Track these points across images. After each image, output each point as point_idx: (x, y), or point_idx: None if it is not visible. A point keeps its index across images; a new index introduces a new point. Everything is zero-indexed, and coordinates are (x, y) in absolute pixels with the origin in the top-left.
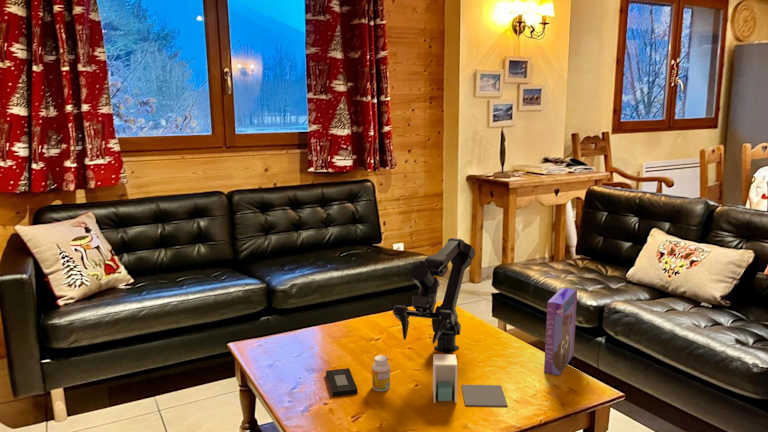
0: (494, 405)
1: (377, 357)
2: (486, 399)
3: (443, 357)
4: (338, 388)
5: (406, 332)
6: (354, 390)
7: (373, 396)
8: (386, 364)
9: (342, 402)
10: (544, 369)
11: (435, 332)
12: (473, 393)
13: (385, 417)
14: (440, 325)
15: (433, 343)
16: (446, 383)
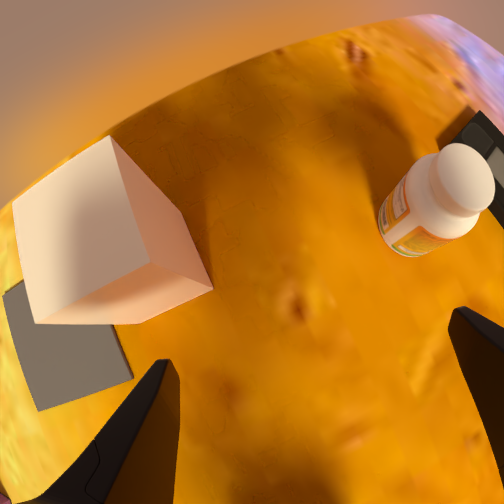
0: (23, 281)
1: (482, 172)
2: None
3: (78, 246)
4: (485, 133)
5: (482, 380)
6: (450, 143)
7: (392, 157)
8: (429, 188)
9: (435, 99)
10: (5, 501)
11: (123, 432)
12: (79, 328)
13: (286, 76)
14: (49, 499)
15: (174, 373)
16: None
